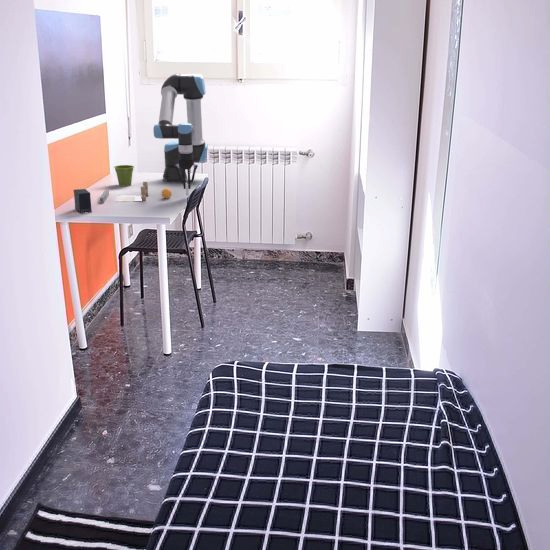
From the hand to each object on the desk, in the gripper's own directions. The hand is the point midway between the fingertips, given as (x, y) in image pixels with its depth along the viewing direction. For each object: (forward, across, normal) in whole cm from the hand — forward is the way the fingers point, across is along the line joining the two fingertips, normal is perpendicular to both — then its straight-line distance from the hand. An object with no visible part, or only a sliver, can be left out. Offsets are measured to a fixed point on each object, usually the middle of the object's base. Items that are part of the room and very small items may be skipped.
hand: (187, 194), depth 372 cm
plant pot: (+2, -38, +35) cm, 52 cm away
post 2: (+2, -24, -6) cm, 24 cm away
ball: (-1, -12, 0) cm, 12 cm away
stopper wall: (+2, -46, 0) cm, 46 cm away
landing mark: (+2, -32, 0) cm, 32 cm away
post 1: (+2, -23, +6) cm, 24 cm away
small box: (+2, -53, -25) cm, 58 cm away
